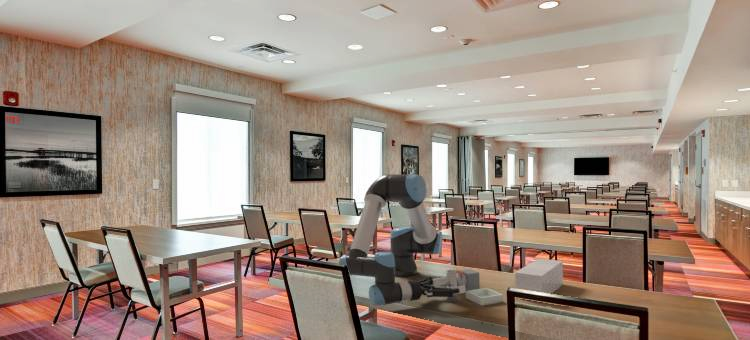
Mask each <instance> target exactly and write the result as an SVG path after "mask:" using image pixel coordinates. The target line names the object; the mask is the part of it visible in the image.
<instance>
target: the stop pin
mask: <svg viewBox="0 0 750 340" xmlns="http://www.w3.org/2000/svg"><path fill="white" fill-rule="evenodd" d="M446 277H447V284H446V288H450V287H456V286H458V281H457V277H458V273H457V271H456V270H455V269H448V270H446ZM446 302H449V303H456V302H458V294H453V297H446Z"/></svg>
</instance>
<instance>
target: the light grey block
mask: <svg viewBox="0 0 750 340" xmlns="http://www.w3.org/2000/svg"><path fill="white" fill-rule="evenodd" d="M563 263H564V262H563V260H555V259H547V258H536V259H535V260H533V261H532V262H530V263H529V264H526V265H525V266H523V267H522V268H520V269H518V270H517V271H515V272H514V279H515V280H514V284H515V286H514V288H519V289H525V290H531V291H537V292H546V293H552V294H554V293H555V292H556V291H557V290H558V289H559V288H561V286H563V284H564V283H563V282H564V279H563V278H564V272H563V271H564V269H563V267H564V265H563ZM555 290H556V291H555ZM554 291H555V292H554ZM553 292H554V293H553Z"/></svg>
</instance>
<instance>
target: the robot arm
mask: <svg viewBox="0 0 750 340" xmlns="http://www.w3.org/2000/svg"><path fill="white" fill-rule="evenodd" d="M426 197H427V185H426V182H425V179H424V177H423V176H422V175H420V174H414V173H408V174H403V173H402V174H399V173H398V174H389V173H388V174H384V175H382V176H379V177H378V178H376V180H374V181H373V182H372V183H371V185H370V186H369V187H368V188H367V191H366V192H365V195H364V197H363V198H364V199H363V200H364V201H363V202H364V206H363V209H362V212H361V215H360V218H359V221H358V224H357V228H356V230H355V233H354V236H353V239H352V242H351V245H350V249H349V251H348V254H343V255H341V257H340V258H339V260H338V265H339V264H341V265H346V266H347V267H348V272H349V275H348V276H356V277H358V276H361V277H368V278H370V277H371V278H374V284H373V285H371V286H370V287H369V289H368V298H369V302H370V303H371V304H372V305H373V306H387V305H393V304H397V303H398V304H403V303H405V302H409V301H410V302H414V301H418V300H420V299H421V298H422V296H426V297H427V298H447V297H453V294H457V295H459V294H466V291H465V285H463V286H459V285H457V286H456V287H450V288H447V287H437V286H442V285H443V286H444V285H447V276H445V277H437V278H433V277H431V276H429V277H425V278H421V279H419V280H416V279H414V280H413V279H412V280H408V281H406V280H404V281H399V282H398V281H397V282H396V280H395V279H396V277H410V276H415V275H417V274H418V267H417V264H416V261H415V257H414V254H420V255H431V256H433V255H440V253H441V250H442V247H443V232H442V230H441V231H440V230H437V229H436V228H435V226H434V225H432V223H431V221H430V218H429V215H428V212H427V210H426V207H425V204H424V200H425V199H426ZM387 202H397V203H398V204H399V206H401V208H403V209H405V212H406V215H407V217H408V219H409V223H410V224H411V226H402V227H397V228H394V229H391V231H390V238H389V239H390V251H378V252H376V253H375V254H374V256H368V255H369V251H370V248H371V245H372V242H373V239H374V235H375V233H376V229H377V227H378V226H377V225H378V222H379V218H380V215H381V213H382V209H383V208H385V207H386V204H387Z"/></svg>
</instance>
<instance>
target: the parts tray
mask: <svg viewBox="0 0 750 340" xmlns="http://www.w3.org/2000/svg"><path fill="white" fill-rule="evenodd" d="M465 299H466V300H468V301H470V302H473V303H475V304H477V305H478V306H480V307H481V306H488V305H494V304H500V302H501V303H504V294H502V293H500V292H497V291H495V290H493V289H490V288H488V287H484V288H480V289H477V290H470V291H466V293H465Z"/></svg>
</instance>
